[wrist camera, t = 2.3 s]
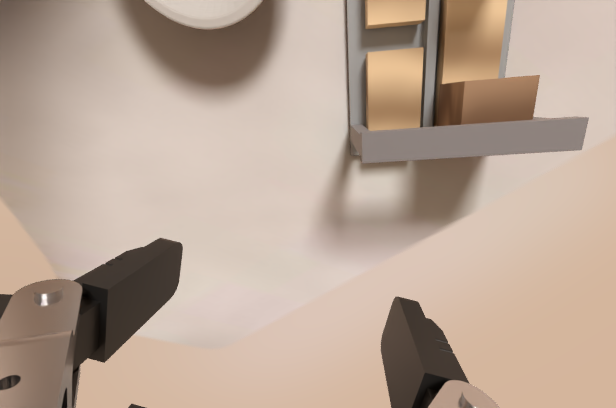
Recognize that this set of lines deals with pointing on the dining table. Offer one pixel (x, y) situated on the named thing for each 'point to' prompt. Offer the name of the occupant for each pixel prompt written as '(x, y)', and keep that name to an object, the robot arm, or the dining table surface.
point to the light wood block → (393, 13)
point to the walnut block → (487, 100)
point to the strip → (469, 41)
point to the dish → (205, 11)
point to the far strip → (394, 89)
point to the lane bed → (429, 138)
